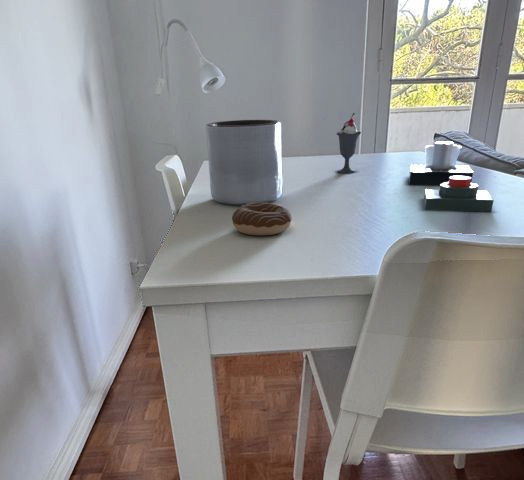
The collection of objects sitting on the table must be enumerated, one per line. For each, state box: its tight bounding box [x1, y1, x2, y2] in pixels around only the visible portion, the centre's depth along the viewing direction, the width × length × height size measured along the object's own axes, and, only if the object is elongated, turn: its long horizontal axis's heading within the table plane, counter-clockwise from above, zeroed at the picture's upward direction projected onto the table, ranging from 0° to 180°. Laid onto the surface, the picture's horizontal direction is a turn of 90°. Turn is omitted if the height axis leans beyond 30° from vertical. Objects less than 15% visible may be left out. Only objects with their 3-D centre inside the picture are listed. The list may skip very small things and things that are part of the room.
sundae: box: [335, 112, 362, 174], centre depth 129 cm, size 7×7×15 cm
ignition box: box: [423, 182, 494, 213], centre depth 93 cm, size 12×9×4 cm
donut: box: [231, 202, 293, 237], centre depth 82 cm, size 11×11×4 cm
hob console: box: [408, 164, 474, 186], centre depth 116 cm, size 14×10×3 cm
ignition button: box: [448, 176, 472, 187], centre depth 92 cm, size 4×4×2 cm
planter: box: [205, 119, 284, 206], centre depth 102 cm, size 16×16×16 cm
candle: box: [425, 144, 462, 166], centre depth 126 cm, size 9×9×6 cm
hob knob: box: [431, 140, 454, 170], centre depth 113 cm, size 4×4×6 cm
